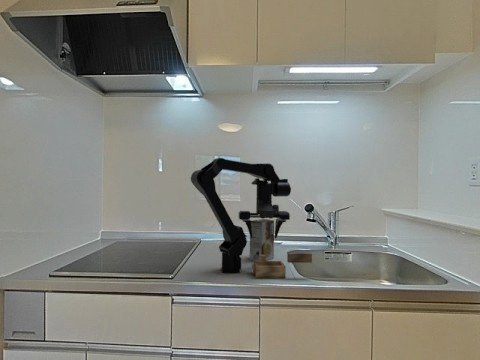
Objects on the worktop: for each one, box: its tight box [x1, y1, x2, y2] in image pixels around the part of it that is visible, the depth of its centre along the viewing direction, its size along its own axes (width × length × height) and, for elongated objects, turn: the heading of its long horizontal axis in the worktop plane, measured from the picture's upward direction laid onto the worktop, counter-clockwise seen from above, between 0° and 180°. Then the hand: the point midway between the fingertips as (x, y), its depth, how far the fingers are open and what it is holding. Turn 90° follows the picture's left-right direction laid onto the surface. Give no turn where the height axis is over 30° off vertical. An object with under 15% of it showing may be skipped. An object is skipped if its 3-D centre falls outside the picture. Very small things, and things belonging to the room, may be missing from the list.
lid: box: [251, 255, 267, 267], centre depth 138 cm, size 10×8×5 cm
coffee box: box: [249, 218, 275, 261], centre depth 153 cm, size 9×6×16 cm
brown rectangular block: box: [286, 252, 313, 264], centre depth 126 cm, size 8×2×3 cm, turn 95°
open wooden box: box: [252, 260, 287, 279], centre depth 128 cm, size 10×8×4 cm
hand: (263, 238), depth 139 cm, fingers open, 9 cm apart
